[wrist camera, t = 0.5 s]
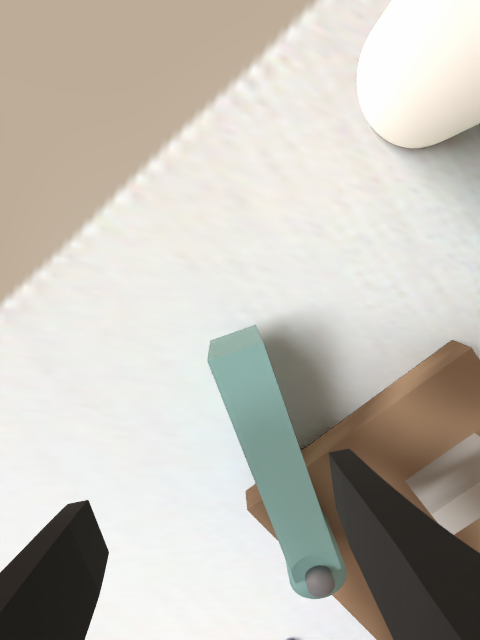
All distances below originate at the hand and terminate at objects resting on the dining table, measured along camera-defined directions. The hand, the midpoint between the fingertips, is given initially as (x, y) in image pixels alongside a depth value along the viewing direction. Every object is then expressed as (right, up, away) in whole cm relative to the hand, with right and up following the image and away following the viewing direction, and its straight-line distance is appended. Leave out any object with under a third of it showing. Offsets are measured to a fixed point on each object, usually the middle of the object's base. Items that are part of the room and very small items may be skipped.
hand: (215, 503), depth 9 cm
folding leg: (+3, -2, +9) cm, 9 cm away
